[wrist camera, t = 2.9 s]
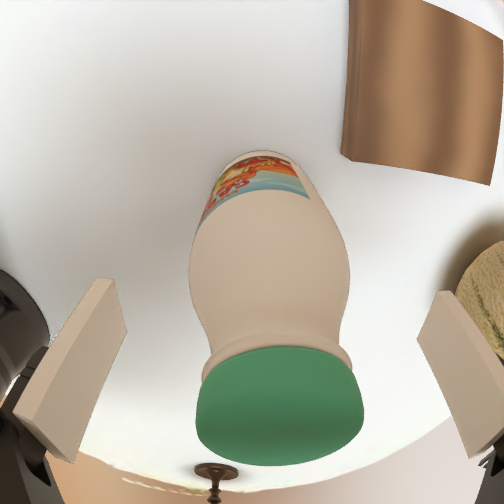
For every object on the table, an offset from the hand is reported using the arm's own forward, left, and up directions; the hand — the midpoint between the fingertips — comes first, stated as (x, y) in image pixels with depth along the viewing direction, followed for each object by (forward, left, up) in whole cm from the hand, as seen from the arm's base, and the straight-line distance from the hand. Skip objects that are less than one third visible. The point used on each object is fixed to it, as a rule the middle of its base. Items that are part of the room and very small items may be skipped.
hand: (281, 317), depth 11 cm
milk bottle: (0, 0, -15) cm, 15 cm away
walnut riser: (+13, +11, -15) cm, 22 cm away
